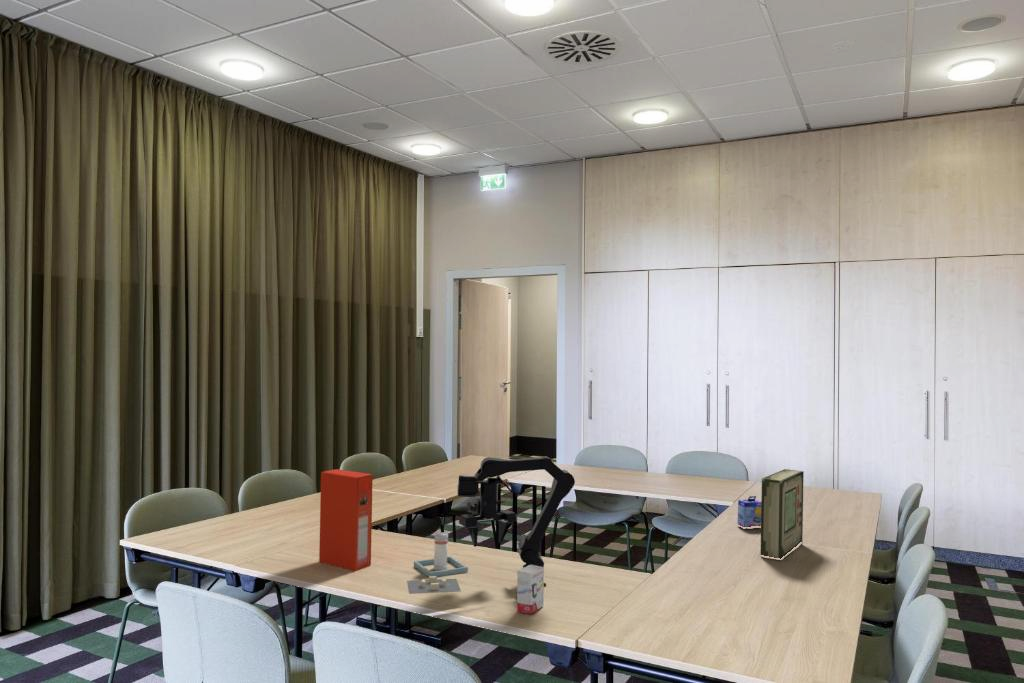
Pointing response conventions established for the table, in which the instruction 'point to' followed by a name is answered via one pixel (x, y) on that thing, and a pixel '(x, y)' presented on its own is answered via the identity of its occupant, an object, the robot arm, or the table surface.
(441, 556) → the white cylinder
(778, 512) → the control panel
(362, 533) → the file binder
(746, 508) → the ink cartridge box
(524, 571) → the ink box
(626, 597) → the table surface
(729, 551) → the table surface
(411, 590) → the board
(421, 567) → the tray
